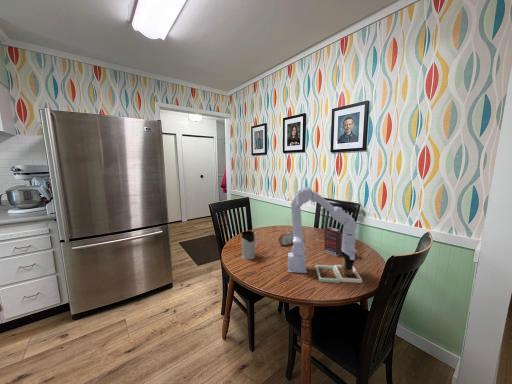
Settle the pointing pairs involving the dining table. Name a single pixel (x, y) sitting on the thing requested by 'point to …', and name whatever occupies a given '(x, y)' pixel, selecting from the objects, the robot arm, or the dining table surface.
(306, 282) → the dining table surface
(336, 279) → the pale green rectangular frame
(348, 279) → the tray
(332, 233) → the supplement box
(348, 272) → the block
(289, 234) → the tin
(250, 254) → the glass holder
